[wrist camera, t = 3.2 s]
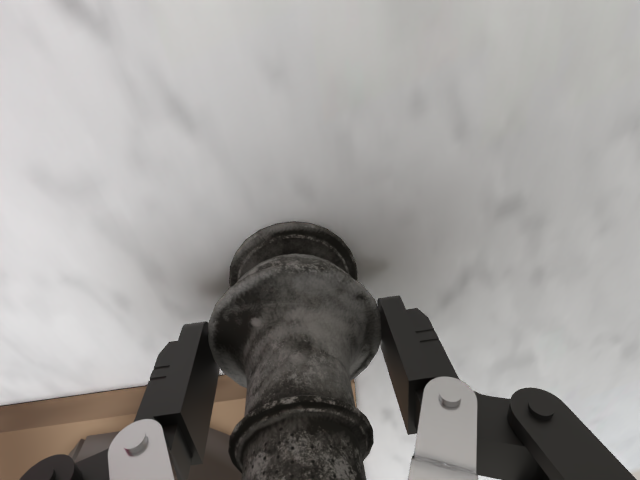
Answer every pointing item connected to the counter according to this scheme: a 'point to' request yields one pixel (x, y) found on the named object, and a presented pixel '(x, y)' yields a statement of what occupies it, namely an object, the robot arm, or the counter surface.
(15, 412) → the board
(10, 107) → the counter surface
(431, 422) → the robot arm
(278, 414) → the salt shaker
